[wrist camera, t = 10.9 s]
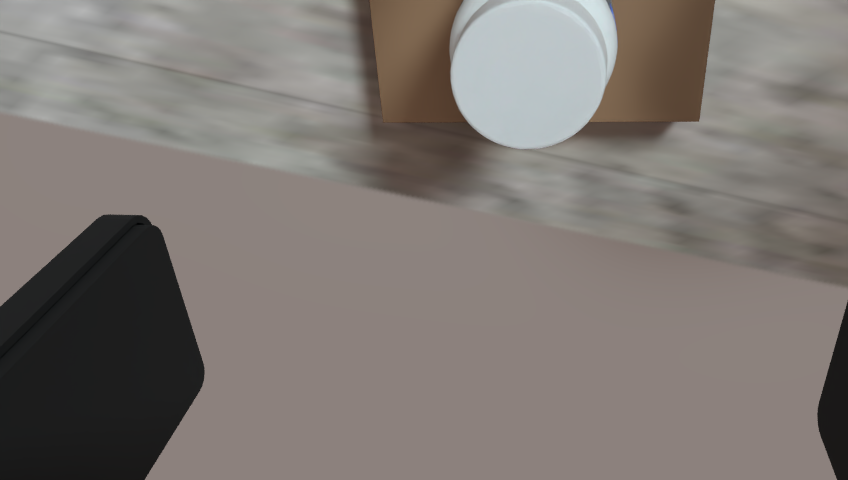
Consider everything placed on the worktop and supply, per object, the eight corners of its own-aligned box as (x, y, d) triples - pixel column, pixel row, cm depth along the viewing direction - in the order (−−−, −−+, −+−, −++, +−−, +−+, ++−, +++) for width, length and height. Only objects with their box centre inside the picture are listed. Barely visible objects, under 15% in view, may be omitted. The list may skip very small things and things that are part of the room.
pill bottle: (633, 23, 25) (656, 115, 18) (514, 87, 27) (494, 192, 20) (569, -104, 23) (567, -56, 16) (448, -25, 25) (400, 47, 18)
